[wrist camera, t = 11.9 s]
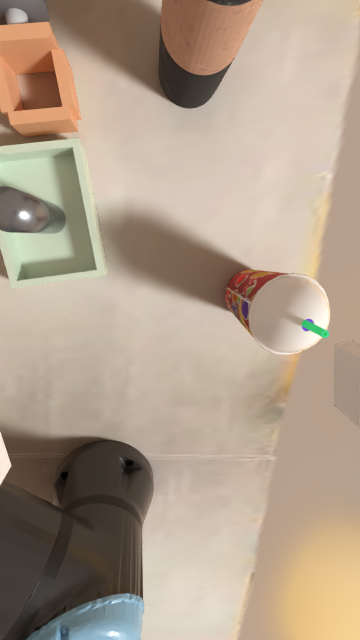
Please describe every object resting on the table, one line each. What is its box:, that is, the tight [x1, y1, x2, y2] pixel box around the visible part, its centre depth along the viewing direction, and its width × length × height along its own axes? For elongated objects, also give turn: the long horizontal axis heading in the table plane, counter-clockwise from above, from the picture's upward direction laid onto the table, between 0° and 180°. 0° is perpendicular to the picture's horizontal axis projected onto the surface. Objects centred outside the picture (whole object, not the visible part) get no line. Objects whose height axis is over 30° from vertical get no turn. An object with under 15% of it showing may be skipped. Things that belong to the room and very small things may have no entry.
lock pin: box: [0, 186, 66, 234], centre depth 32 cm, size 4×4×13 cm
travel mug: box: [159, 0, 263, 108], centre depth 27 cm, size 8×8×20 cm
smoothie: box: [225, 269, 330, 355], centre depth 35 cm, size 8×8×20 cm
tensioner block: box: [0, 0, 81, 137], centre depth 31 cm, size 10×7×8 cm
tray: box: [0, 138, 108, 289], centre depth 37 cm, size 15×11×4 cm
